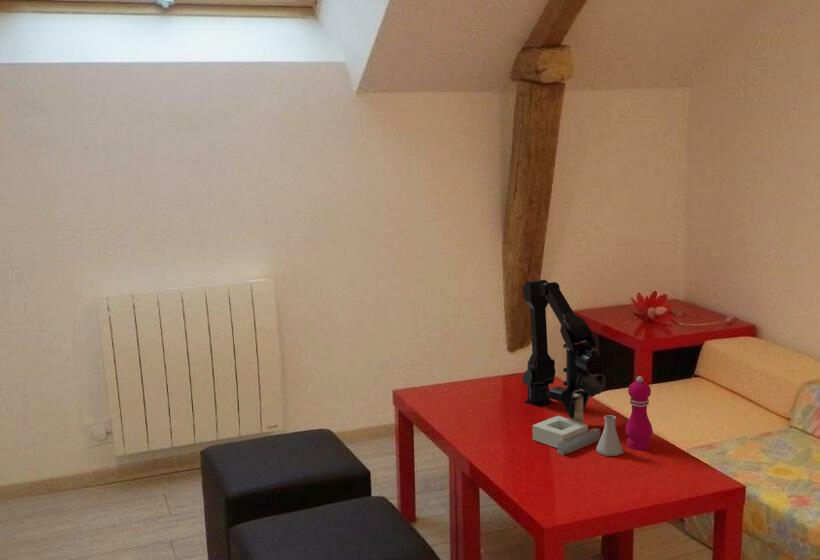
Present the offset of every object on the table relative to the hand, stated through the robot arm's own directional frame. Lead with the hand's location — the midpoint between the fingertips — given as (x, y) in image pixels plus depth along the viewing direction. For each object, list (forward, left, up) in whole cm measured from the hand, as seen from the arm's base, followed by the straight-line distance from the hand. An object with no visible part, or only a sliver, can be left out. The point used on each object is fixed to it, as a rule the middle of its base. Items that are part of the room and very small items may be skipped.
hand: (576, 416), depth 262 cm
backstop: (+11, -12, -3) cm, 16 cm away
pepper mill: (+22, 0, -3) cm, 22 cm away
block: (+4, -12, -3) cm, 13 cm away
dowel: (0, 0, -3) cm, 3 cm away
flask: (+19, -9, -3) cm, 21 cm away
